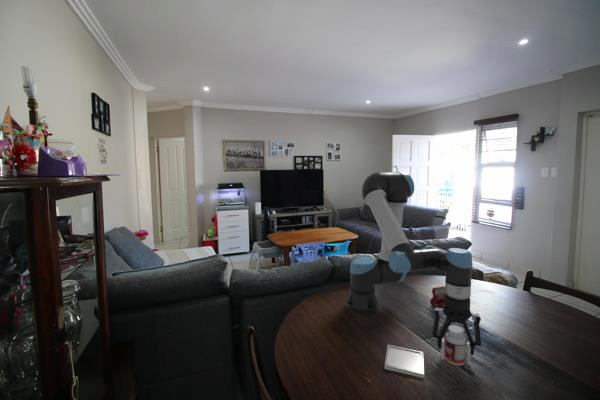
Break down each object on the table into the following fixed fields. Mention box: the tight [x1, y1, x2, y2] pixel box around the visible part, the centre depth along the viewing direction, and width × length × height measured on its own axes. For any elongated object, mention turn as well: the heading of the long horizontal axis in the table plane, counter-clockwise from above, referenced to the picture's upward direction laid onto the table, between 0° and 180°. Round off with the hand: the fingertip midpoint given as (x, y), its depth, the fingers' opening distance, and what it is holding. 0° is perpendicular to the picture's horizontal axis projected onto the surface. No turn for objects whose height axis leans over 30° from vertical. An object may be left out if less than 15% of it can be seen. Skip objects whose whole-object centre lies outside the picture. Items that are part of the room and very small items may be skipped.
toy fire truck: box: [429, 285, 446, 309], centre depth 134 cm, size 7×12×10 cm, turn 108°
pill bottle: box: [444, 324, 467, 367], centre depth 96 cm, size 6×6×11 cm
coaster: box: [383, 344, 425, 379], centre depth 96 cm, size 12×12×1 cm
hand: (454, 359), depth 96 cm, fingers open, 7 cm apart
